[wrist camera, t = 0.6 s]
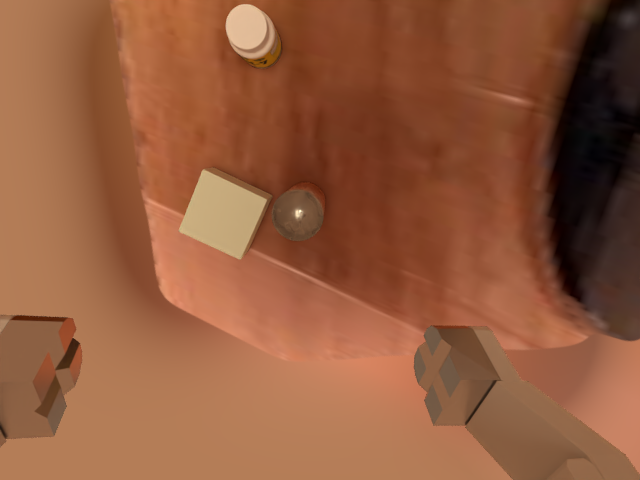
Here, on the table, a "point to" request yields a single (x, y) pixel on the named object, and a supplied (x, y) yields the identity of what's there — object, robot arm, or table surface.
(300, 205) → the clear glass canister
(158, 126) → the table surface
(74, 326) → the robot arm
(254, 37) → the supplement bottle
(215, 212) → the block
